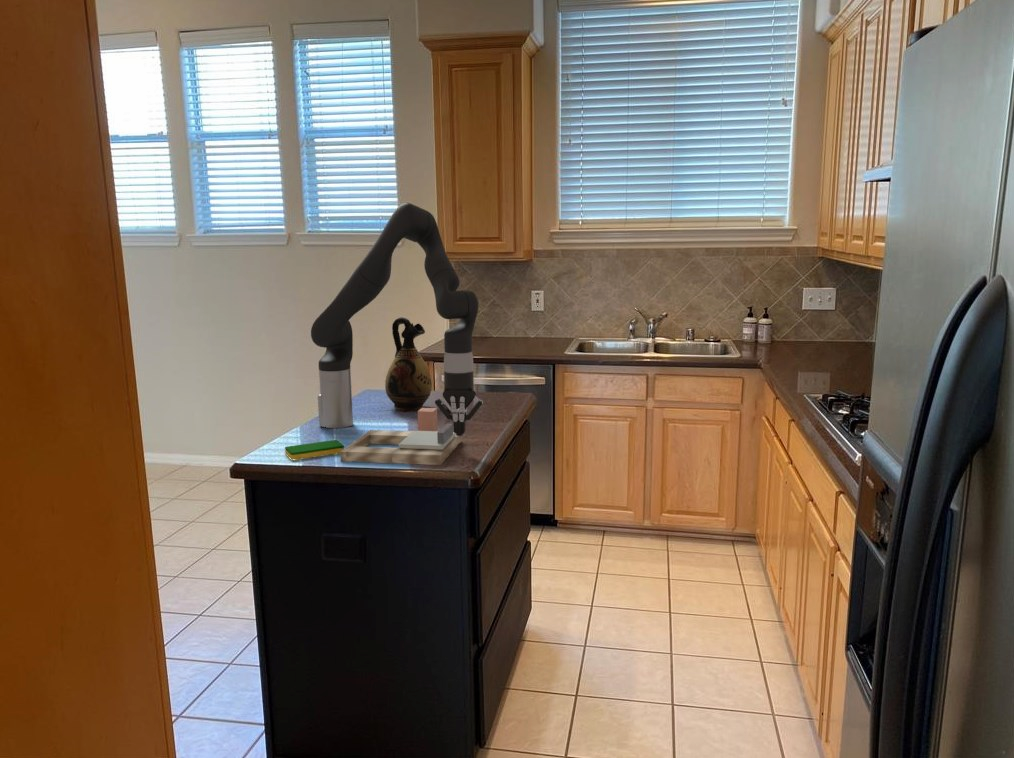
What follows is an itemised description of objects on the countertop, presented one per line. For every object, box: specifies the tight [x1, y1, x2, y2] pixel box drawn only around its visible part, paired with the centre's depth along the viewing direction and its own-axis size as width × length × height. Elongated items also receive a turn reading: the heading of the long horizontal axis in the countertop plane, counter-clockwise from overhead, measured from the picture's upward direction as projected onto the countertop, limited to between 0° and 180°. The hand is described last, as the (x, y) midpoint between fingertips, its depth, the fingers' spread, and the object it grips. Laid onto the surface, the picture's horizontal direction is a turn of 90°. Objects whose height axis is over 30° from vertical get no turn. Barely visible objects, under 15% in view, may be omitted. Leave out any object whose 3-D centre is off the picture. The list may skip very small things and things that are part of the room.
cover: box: [398, 422, 456, 450], centre depth 195 cm, size 12×14×4 cm
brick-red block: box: [417, 407, 439, 431], centre depth 215 cm, size 4×4×7 cm
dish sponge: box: [284, 439, 345, 460], centre depth 196 cm, size 7×14×2 cm, turn 120°
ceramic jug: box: [384, 317, 433, 412], centre depth 246 cm, size 17×15×30 cm
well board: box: [339, 429, 462, 466], centre depth 197 cm, size 26×22×2 cm
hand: (459, 435), depth 194 cm, fingers closed
